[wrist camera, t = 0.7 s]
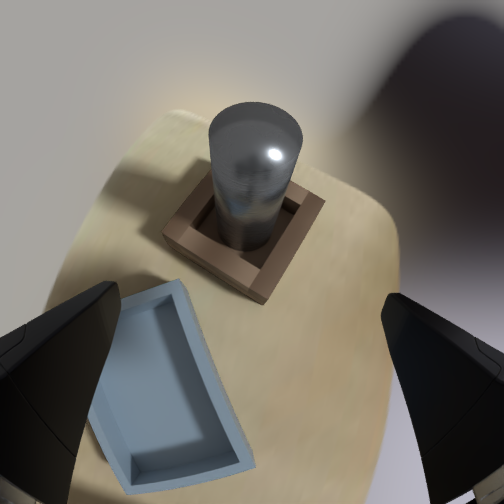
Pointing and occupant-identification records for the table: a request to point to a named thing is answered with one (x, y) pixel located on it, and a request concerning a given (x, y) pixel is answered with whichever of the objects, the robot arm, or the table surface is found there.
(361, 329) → the table surface
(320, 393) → the table surface
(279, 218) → the socket block
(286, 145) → the metallic grey cylinder
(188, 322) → the tray
